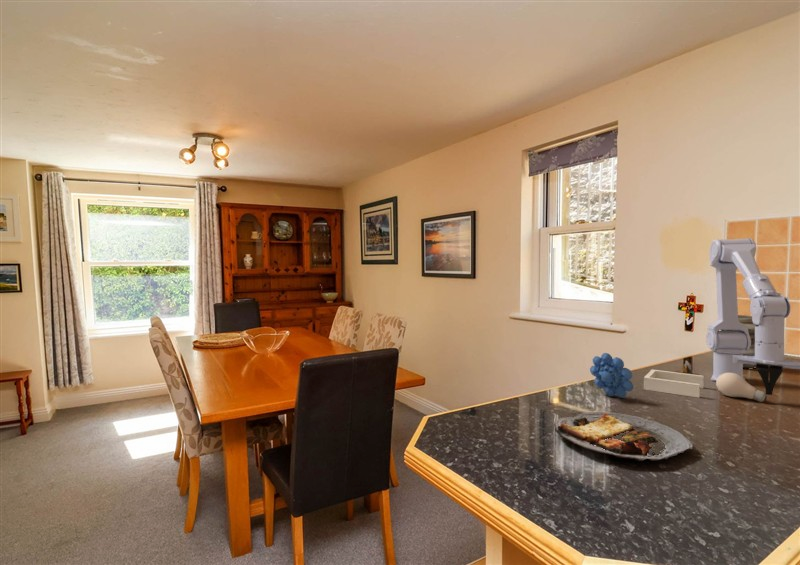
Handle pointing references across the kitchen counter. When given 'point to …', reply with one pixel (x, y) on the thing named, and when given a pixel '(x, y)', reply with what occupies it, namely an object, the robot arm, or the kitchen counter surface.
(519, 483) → the kitchen counter surface
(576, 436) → the food plate
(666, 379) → the socket cradle
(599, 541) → the kitchen counter surface
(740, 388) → the light bulb
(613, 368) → the grapes
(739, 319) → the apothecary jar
